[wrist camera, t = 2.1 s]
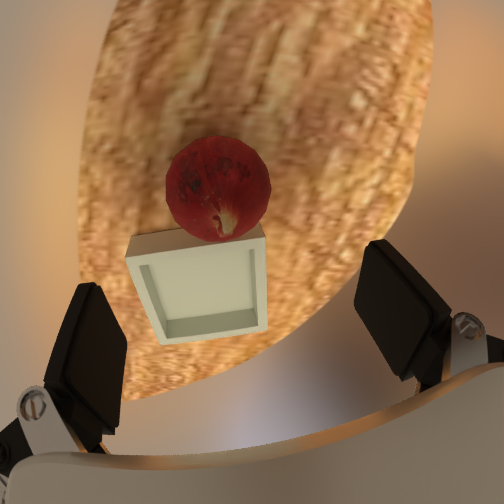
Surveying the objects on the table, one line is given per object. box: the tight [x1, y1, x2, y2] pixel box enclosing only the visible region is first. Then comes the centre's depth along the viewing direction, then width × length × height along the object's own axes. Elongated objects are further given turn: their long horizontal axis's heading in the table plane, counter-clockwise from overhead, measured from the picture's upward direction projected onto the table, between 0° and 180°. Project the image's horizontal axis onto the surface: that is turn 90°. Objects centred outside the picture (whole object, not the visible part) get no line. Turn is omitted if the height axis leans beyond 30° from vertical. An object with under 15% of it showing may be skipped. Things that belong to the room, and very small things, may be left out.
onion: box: [166, 135, 271, 242], centre depth 15 cm, size 6×6×8 cm
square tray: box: [125, 222, 267, 345], centre depth 22 cm, size 10×10×3 cm
